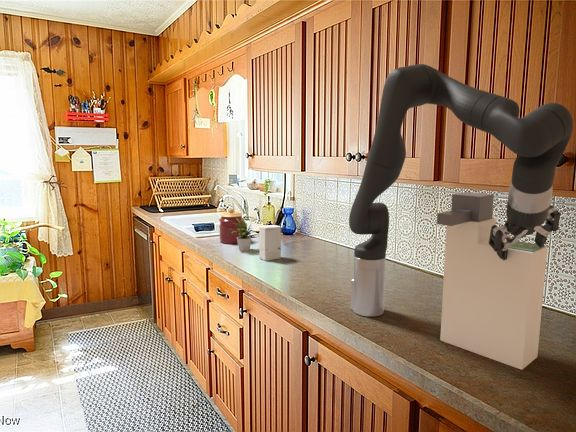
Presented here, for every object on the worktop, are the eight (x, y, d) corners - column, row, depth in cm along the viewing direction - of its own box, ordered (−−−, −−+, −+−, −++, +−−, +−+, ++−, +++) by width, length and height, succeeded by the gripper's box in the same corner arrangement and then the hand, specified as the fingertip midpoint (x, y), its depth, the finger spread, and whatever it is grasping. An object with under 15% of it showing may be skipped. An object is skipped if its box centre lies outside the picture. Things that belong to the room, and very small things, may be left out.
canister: (235, 237, 239) (235, 205, 236) (249, 241, 229) (248, 208, 226) (215, 241, 231) (214, 208, 228) (228, 245, 221) (227, 211, 218)
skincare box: (265, 261, 190) (264, 227, 188) (258, 258, 195) (258, 225, 193) (281, 258, 194) (281, 226, 192) (275, 255, 199) (274, 223, 197)
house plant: (221, 249, 212) (220, 216, 209) (244, 245, 221) (243, 213, 218) (239, 254, 201) (238, 220, 199) (262, 249, 210) (261, 216, 208)
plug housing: (430, 223, 101) (431, 197, 100) (464, 215, 112) (466, 192, 111) (458, 227, 96) (460, 200, 95) (491, 218, 107) (493, 194, 106)
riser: (440, 340, 112) (446, 218, 107) (457, 330, 118) (464, 214, 113) (521, 369, 98) (534, 230, 92) (537, 357, 103) (549, 224, 98)
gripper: (550, 176, 89) (540, 229, 100) (484, 199, 89) (481, 249, 100) (576, 198, 84) (562, 252, 95) (505, 222, 84) (499, 273, 95)
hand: (520, 251), depth 97 cm, fingers open, 8 cm apart
